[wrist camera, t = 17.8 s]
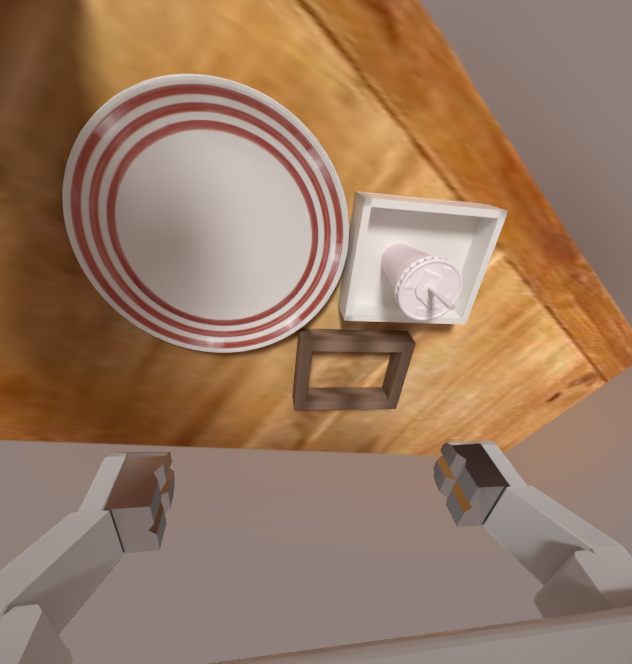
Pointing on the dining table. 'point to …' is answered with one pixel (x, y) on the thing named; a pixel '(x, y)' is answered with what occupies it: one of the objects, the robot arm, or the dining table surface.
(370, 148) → the dining table surface
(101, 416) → the dining table surface
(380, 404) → the socket block
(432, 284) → the smoothie
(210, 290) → the dinner plate
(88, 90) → the dining table surface
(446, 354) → the dining table surface
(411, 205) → the tray
